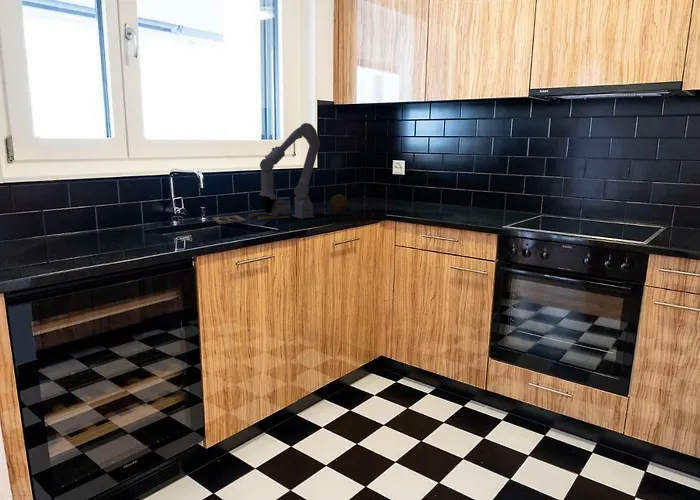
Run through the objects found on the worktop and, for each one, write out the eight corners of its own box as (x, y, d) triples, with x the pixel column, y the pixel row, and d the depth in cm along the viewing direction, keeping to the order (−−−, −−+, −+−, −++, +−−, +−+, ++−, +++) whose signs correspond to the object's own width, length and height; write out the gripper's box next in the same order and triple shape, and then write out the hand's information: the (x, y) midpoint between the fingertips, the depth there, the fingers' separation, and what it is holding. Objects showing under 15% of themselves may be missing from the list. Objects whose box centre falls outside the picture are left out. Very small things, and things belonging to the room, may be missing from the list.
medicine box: (276, 216, 240) (276, 199, 238) (271, 215, 244) (271, 197, 241) (290, 215, 245) (290, 198, 243) (285, 213, 248) (285, 196, 246)
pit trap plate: (245, 221, 229) (245, 219, 229) (220, 224, 223) (219, 221, 223) (236, 217, 240) (236, 215, 239) (212, 219, 234) (211, 217, 234)
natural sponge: (345, 212, 254) (345, 192, 251) (351, 215, 245) (350, 194, 243) (328, 213, 251) (328, 193, 249) (333, 216, 243) (333, 195, 240)
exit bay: (289, 217, 240) (289, 216, 239) (279, 218, 237) (279, 217, 237) (279, 213, 250) (279, 212, 250) (269, 214, 248) (269, 213, 248)
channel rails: (278, 218, 237) (278, 215, 236) (258, 220, 232) (258, 217, 231) (268, 214, 248) (268, 212, 247) (248, 216, 243) (248, 213, 242)
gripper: (254, 183, 241) (255, 210, 245) (264, 186, 229) (265, 215, 233) (267, 182, 245) (268, 209, 248) (279, 185, 233) (279, 214, 236)
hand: (268, 212), depth 241 cm, fingers closed
